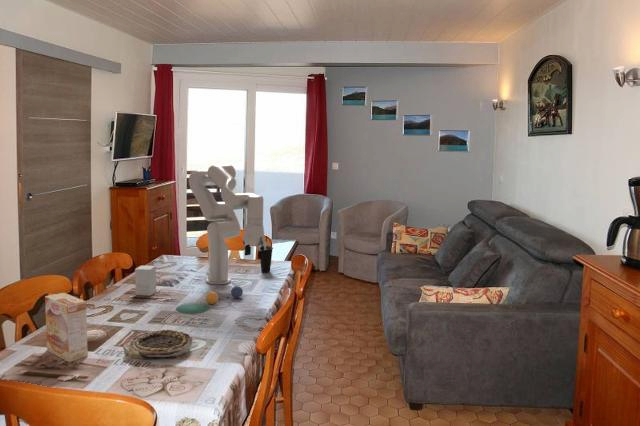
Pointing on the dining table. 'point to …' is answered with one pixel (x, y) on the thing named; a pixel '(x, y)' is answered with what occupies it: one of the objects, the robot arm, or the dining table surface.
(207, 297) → the orange ball
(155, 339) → the woven basket
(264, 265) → the drinking cup
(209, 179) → the robot arm
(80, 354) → the coffeecake box
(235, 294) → the dark blue ball
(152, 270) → the supplement box
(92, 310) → the dining table surface
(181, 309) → the green mark
